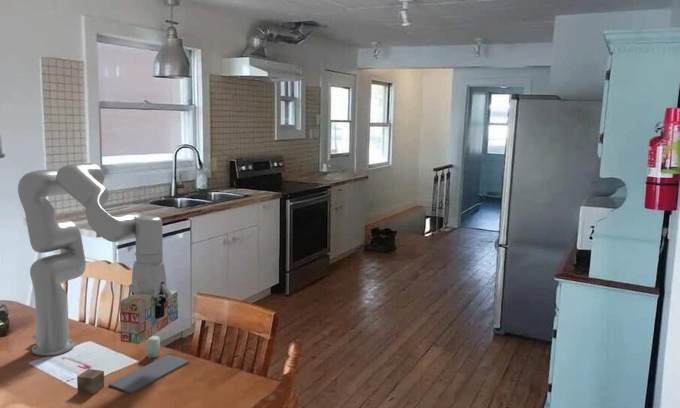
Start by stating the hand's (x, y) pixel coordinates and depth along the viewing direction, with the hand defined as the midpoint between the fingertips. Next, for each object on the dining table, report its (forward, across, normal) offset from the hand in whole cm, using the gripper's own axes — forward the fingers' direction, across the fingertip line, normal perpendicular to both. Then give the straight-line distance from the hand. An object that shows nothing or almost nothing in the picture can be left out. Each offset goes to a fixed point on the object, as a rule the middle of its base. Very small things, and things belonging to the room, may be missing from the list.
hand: (150, 314), depth 166 cm
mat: (+19, 0, 0) cm, 19 cm away
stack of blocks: (+5, 0, 0) cm, 5 cm away
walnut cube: (+19, -7, -16) cm, 26 cm away
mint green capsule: (+19, -9, +10) cm, 23 cm away
